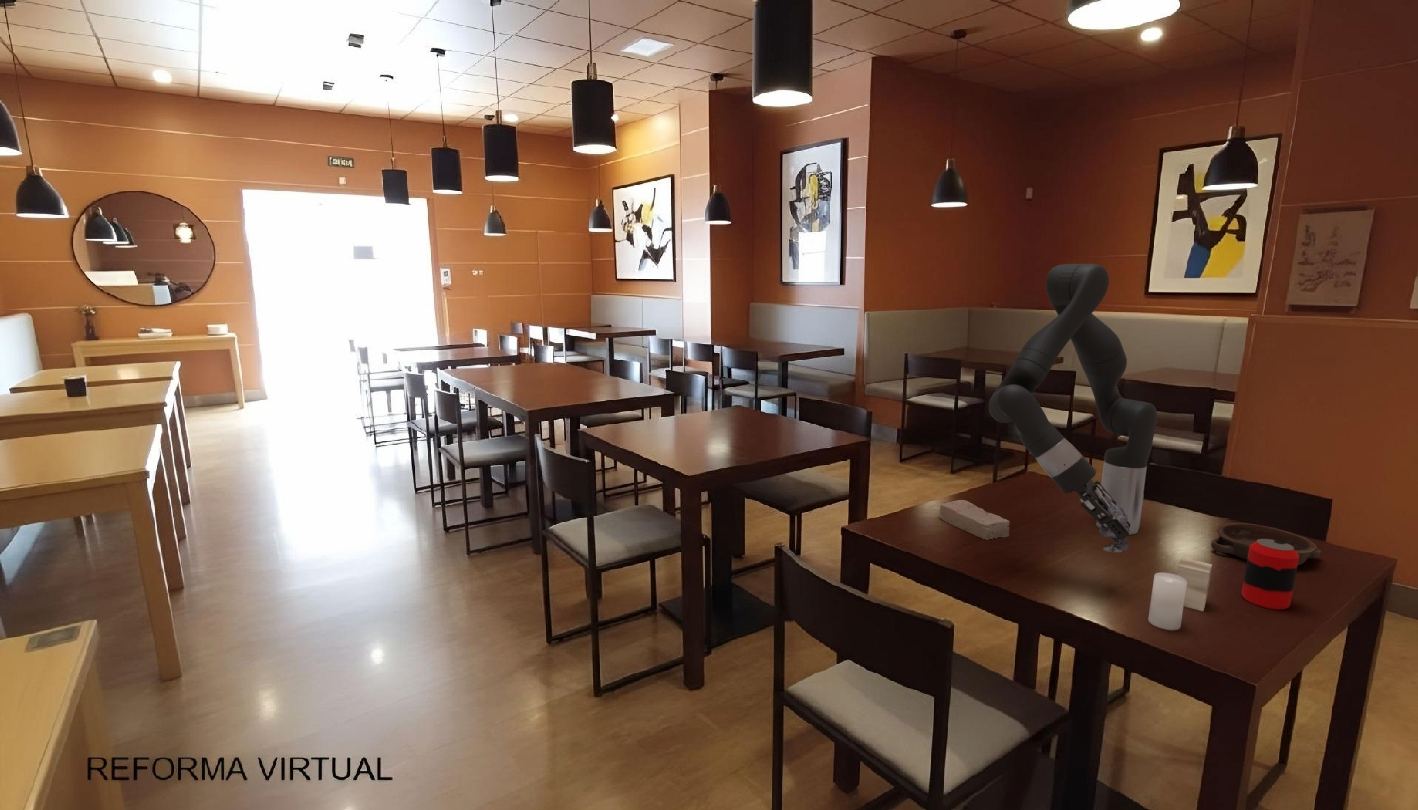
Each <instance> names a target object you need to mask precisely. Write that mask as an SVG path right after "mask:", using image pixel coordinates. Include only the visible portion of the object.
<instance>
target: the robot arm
mask: <svg viewBox="0 0 1418 810" xmlns="http://www.w3.org/2000/svg"><path fill="white" fill-rule="evenodd" d="M1109 282H1110V278H1109V273H1108V271H1107V269H1106V268H1105V267H1104V266H1103V265H1101V264H1096V263H1062V264H1058V265H1056V266H1054V267H1052V268H1051V269H1050V270H1049V272H1048V274H1047V276H1046V280H1045V288H1046V294H1047V297H1048V299H1049V301H1050V303H1051V305H1052V307H1053V309H1054V312H1056V314H1057V316H1056V317H1055V318H1054V319H1053V320H1051V321H1049V323H1047V324H1046V325H1044V326H1043V327H1042V328H1040V329H1039V330H1038V331H1037V332H1035V333H1034V334H1033V335H1032V336H1030V337H1029V339H1028V340H1026V342H1025V344H1024V345H1023V346H1022V348H1021V350H1020V351H1019V353H1018V355H1017V357H1016V358H1015V360H1014V362H1013V363H1012V366H1011V367H1010V370H1009V371H1008V372H1007V374H1006V375H1005V376H1004V378H1003V379H1002V380H1001V382H1000V383H999V385H998V387H996V389H995V391H994V392H993V394H992V396H991V397H990V399H989V402H988V411H989V415H990V416H991V417H992V418H993V419H994V420H995V421H997V422H998V423H1001V424H1002V423H1003V424H1009V423H1012V424H1013V425H1014V426H1015V428H1016V429H1017V430H1018V432H1019V436H1018V437H1019V440H1020V442H1021V444H1022V445H1023V446H1024V448H1026V450H1027V451H1028V452H1029V453H1030V454H1031V456H1032V457H1034V459H1035V460H1036V461H1037V463H1038V464H1039V466H1041V468H1042V470H1043V471H1044V472H1045V473H1046V474H1047V475H1048V476H1049V478H1050V479H1052V482H1054V483H1055V484H1056V486H1058V487H1059V489H1060V490H1061V491H1062V492H1063V493H1064V494H1070V493H1072V492H1076V493H1077V494H1078V496H1079V497H1078V498H1079V500H1080V506H1081V507H1082V509H1084V510H1085V511H1086V512H1087V513H1088V514H1089V515H1091V517H1092V518H1093V519H1094V520H1096V523H1095V524H1096V527H1097V528H1100V526H1101V525H1107V526H1108V527H1109V529H1110V530H1111V531H1112V532H1113V533H1114V534H1115V535H1116V536H1117V537H1118V539H1123V538H1125V537H1126V538H1127V537H1128V536H1130V535H1136V534H1138V533H1139V529H1140V525H1141V524H1140V523H1141V516H1142V510H1143V502H1144V490H1145V482H1146V476H1147V467H1148V461H1149V458H1150V455H1151V452H1152V447H1153V442H1154V437H1155V432H1156V428H1157V423H1158V411H1157V409H1156V406H1155V405H1154V404H1153V403H1151V402H1146V401H1140V400H1135V399H1128V398H1125V397H1122V395H1121V393H1120V392H1119V389H1118V383H1119V382H1120V381H1121V379H1122V378H1123V377H1122V376H1123V375H1124V374H1125V371H1126V368H1127V365H1128V359H1127V355H1126V352H1125V350H1124V347H1123V344H1122V342H1121V339H1120V338H1119V336H1118V335H1117V334H1116V333H1115V332H1114V331H1113V329H1111V328H1110V327H1109V326H1108V325H1107V324H1106V323H1105V322H1103V321H1102V320H1101V319H1099V318H1098V317H1097V316H1096V315H1094V313H1093V312H1094V311H1095V310H1096V309H1097V308H1098V306H1099V305H1100V304H1101V302H1102V301H1103V300H1104V298H1105V296H1106V295H1107V292H1108V290H1109V285H1110V283H1109ZM1069 341H1070V342H1071V343H1072V345H1073V347H1074V349H1075V352H1076V356H1077V358H1078V361H1079V363H1080V365H1081V368H1082V370H1083V372H1084V374H1085V376H1086V378H1087V381H1088V384H1089V386H1090V389H1091V391H1092V395H1093V398H1094V401H1095V404H1096V409H1097V413H1098V416H1099V420H1100V422H1101V425H1102V427H1103V428H1104V430H1105V431H1106V432H1108V433H1110V434H1112V435H1116V436H1120V437H1125V438H1128V440H1127V443H1126V445H1124V446H1119V447H1111V448H1108V449H1107V450H1105V453H1104V457H1103V464H1102V465H1103V467H1102V475H1101V482H1100V481H1098V480H1096V481H1095V482H1094V481H1093V478H1094V477H1096V475H1097V470H1096V468H1094V467H1093V465H1091V463H1090V462H1089V461H1088V460H1087V459H1086V457H1084V456H1083V455H1082V454H1081V453H1080V451H1079V450H1078V449H1077V448H1076V447H1075V445H1073V444H1072V443H1071V442H1069V440H1067V438H1066V437H1064V436H1063V435H1062V434H1061V433H1060V431H1059V430H1058V429H1057V428H1056V427H1055V426H1054V425H1053V424H1052V423H1051V422H1050V421H1049V419H1048V416H1047V415H1046V412H1044V410H1043V408H1042V407H1041V405H1040V403H1039V402H1038V400H1037V399H1036V397H1035V396H1034V395H1033V393H1034V391H1035V390H1036V389H1037V388H1038V387H1039V386H1040V385H1042V383H1043V381H1044V380H1045V379H1046V378H1047V376H1048V374H1049V372H1050V370H1051V369H1052V367H1053V365H1054V363H1055V362H1056V360H1057V359H1058V356H1059V355H1060V354H1061V352H1062V351H1063V349H1064V348H1065V346H1066V345H1067V344H1068V342H1069ZM1115 505H1117V506H1118V507H1119V508H1122V509H1123V510H1124V512H1125V513H1124V514H1126V515H1127V517H1128V522H1127V524H1128V525H1129V528H1130V531H1128V530H1127V529H1126V528H1125V527H1124V526H1123V525H1122V524H1121V523H1120V521H1119V520H1118V519H1117V518H1116V516H1115V515H1114V514H1113V513H1112V512H1111V510H1110V507H1113V506H1115ZM1105 515H1106V516H1105ZM1103 516H1104V517H1103Z"/></svg>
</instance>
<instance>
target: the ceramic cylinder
mask: <svg viewBox="0 0 1418 810" xmlns="http://www.w3.org/2000/svg"><path fill="white" fill-rule="evenodd" d="M1152 583H1153V585H1152V590H1151V598H1150V605H1149V611H1148V619H1147V621H1148V622H1149V623H1150V624H1151V625H1153V626H1154V627H1157V628H1159V629H1163V630H1166V631H1178V630H1180V629H1181V625H1182V619H1183V612H1184V611H1183V610H1184V607H1185V606H1184V600H1185V593H1186V587H1187V580H1186V579H1184V578H1183V577H1181V576H1178V575H1177V574H1174V573H1172V572H1171V573H1170V572H1156V573H1155V574H1154V577H1153V582H1152Z"/></svg>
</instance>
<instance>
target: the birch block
mask: <svg viewBox="0 0 1418 810" xmlns="http://www.w3.org/2000/svg"><path fill="white" fill-rule="evenodd" d="M1212 567H1213V563H1212V564H1211V563H1208V562H1207V563H1206V562H1202V561H1198V560H1194V559H1190V558H1186V557H1181V558H1180V560H1179V562H1178V565H1177V570H1176V571H1177V572H1176V575H1178V576H1181V577H1183V578H1184V579H1186V580H1187V587H1186V593H1185V600H1184V606H1183V607H1185V608H1188V609H1193V610H1196V611H1199V612H1200V611H1201V612H1204V610H1205V607H1206V604H1207V599H1208V593H1209V586H1210V581H1211V580H1210V579H1211V575H1212Z"/></svg>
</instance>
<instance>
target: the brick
mask: <svg viewBox="0 0 1418 810" xmlns="http://www.w3.org/2000/svg"><path fill="white" fill-rule="evenodd" d="M939 518H940V519H941V520H942V521H944V522H946V523H949V525H952V526H954V527H956V528H957V529H961V530H962V531H965V532H966V533H969V534H972V535H974V536H975V537H978V538H980V539H983V540H984V539H985V540H984V541H990V540H989V539H992V540H994V539H993V538H995V539H999V538H998V537H1002V538H1007V537H1009V536H1010V533H1009V532H1010V527H1009V526H1010V524H1011V523H1010V520H1008V519H1006V518H1003V517H1002V516H1000V515H996V514H994V513H991V512H987V511H986V510H984V509H983V508H981V507H978V506H977V505H976V504H973V503H971V502H969V501H968V500H964V499H958V500H953V501H949V502H946V503H941V504H940V505H939Z"/></svg>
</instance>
